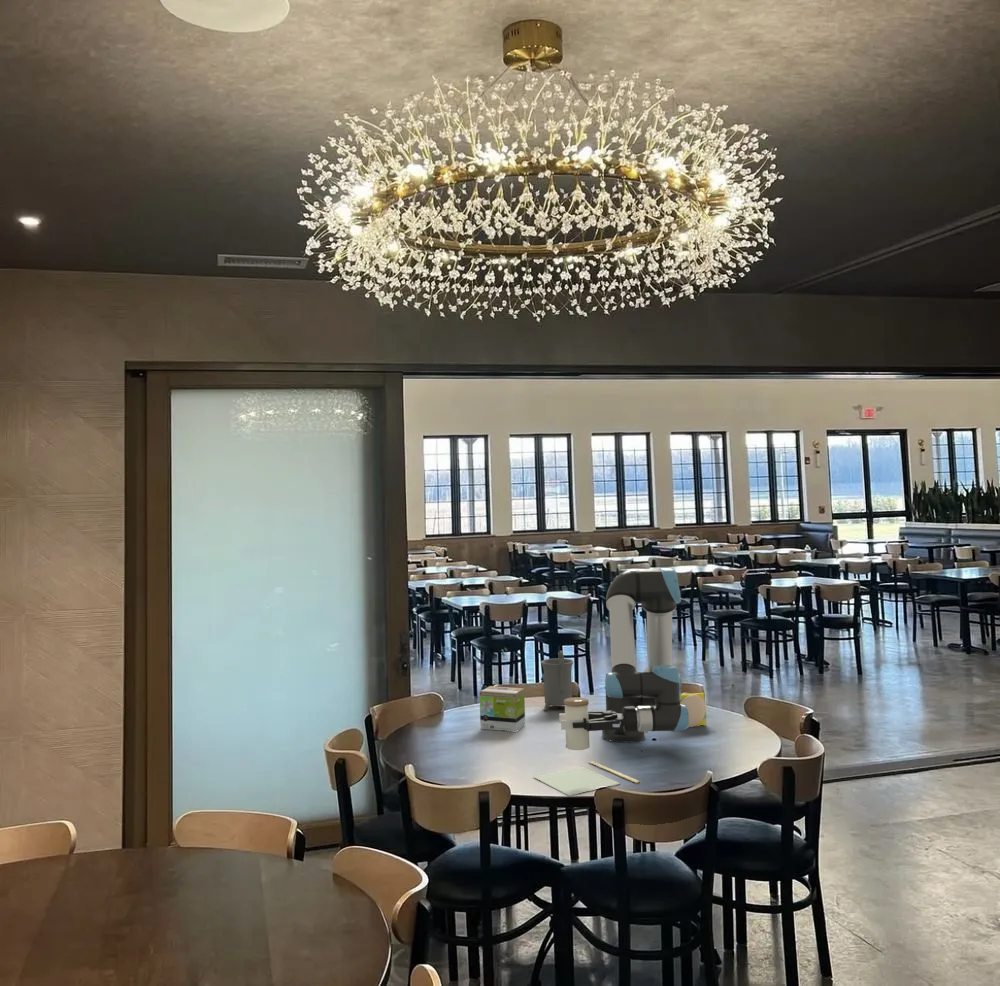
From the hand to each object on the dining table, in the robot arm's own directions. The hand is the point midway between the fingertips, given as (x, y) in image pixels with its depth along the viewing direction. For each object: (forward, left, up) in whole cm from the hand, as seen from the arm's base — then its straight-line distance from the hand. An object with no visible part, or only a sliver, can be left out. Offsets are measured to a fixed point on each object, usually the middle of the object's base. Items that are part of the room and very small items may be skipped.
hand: (560, 721), depth 241 cm
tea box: (-65, +16, -18) cm, 69 cm away
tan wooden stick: (+2, +18, -18) cm, 25 cm away
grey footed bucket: (-78, +50, -18) cm, 94 cm away
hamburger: (-26, +74, -18) cm, 80 cm away
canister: (+2, +4, -8) cm, 9 cm away
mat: (+2, +4, -18) cm, 18 cm away
